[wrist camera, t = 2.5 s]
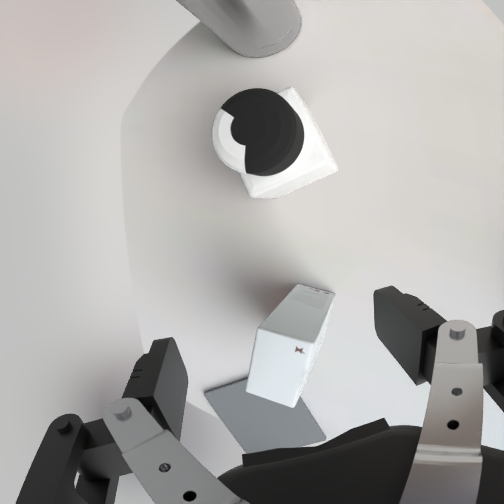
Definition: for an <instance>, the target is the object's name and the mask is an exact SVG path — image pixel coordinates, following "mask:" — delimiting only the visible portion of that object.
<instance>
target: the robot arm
mask: <svg viewBox="0 0 504 504" xmlns="http://www.w3.org/2000/svg"><path fill="white" fill-rule="evenodd" d="M176 1H178V2H179V3H180V4H181V5H183V6H184V7H185V8H186V9H187V10H189V11H190V12H191V13H192V14H193V15H194V16H196V17H197V18H198V19H199V20H200V21H201V22H203V23H204V24H205V25H206V26H207V27H208V28H209V29H211V30H212V31H213V32H214V33H215V34H216V35H217V36H218V37H219V38H220V39H221V40H222V41H224V42H225V43H226V44H227V45H228V46H229V47H230V48H231V49H232V50H234V51H235V52H236V53H238V54H241V55H243V56H247V57H265V56H269V55H272V54H275V53H277V52H279V51H281V50H283V49H285V48H286V47H287V46H289V45H290V44H291V43H292V42H293V41H294V39H295V38H296V37H297V35H298V33H299V32H300V28H301V15H300V12H299V10H298V8H297V6H296V4H295V2H294V0H176ZM374 321H375V330H376V333H377V336H378V338H379V339H380V340H381V342H382V343H383V344H384V345H385V347H386V348H387V349H388V350H389V352H390V353H391V354H392V355H393V356H394V358H395V359H396V360H397V361H398V363H399V364H400V365H401V367H402V368H403V369H404V370H405V372H406V373H407V374H408V375H409V377H410V378H411V379H412V380H413V382H414V383H415V384H416V386H417V385H419V384H422V383H424V382H426V381H428V382H429V384H430V385H431V388H430V394H429V399H428V404H427V409H426V414H425V418H424V423H423V427H418V426H410V425H398V426H389V425H388V423H387V422H386V420H385V418H382V419H379V420H376V421H374V422H371V423H368V424H365V425H362V426H359V427H356V428H353V429H350V430H349V431H347V432H345V433H343V434H341V435H339V436H337V437H335V438H333V439H332V440H330V441H328V442H326V443H324V444H322V445H319V446H315V447H297V448H276V449H271V450H265V451H260V452H254V453H248V454H243V455H242V459H243V465H240V466H237V467H235V468H233V469H231V470H229V471H227V472H225V473H224V474H222V475H221V476H219V477H218V478H216V477H215V476H214V475H213V474H211V473H210V472H209V471H208V470H207V469H206V468H205V467H204V466H203V465H202V464H201V463H200V462H199V461H198V460H197V459H196V458H195V457H194V456H193V455H192V454H191V453H190V452H189V451H188V450H187V449H186V448H185V447H184V446H183V445H182V444H181V443H180V436H181V429H182V422H183V415H184V407H185V401H186V394H187V388H188V375H187V371H186V368H185V366H184V363H183V360H182V358H181V355H180V353H179V350H178V347H177V345H176V342H175V340H174V339H173V338H172V337H170V338H164V339H158V340H154V341H153V343H152V346H151V348H150V351H149V353H147V354H144V355H143V356H142V357H141V358H140V359H139V360H138V361H137V362H136V364H135V366H134V369H133V372H132V374H131V376H130V379H129V381H128V383H127V386H126V388H125V391H124V393H123V396H122V399H119V400H117V401H115V402H113V403H112V404H110V405H109V406H108V407H107V408H106V409H105V411H104V413H103V418H102V419H99V420H95V421H92V422H88V423H83V422H82V420H81V418H80V417H79V416H78V415H75V414H65V415H62V416H60V417H58V418H57V419H55V420H54V421H53V422H52V423H51V424H50V426H49V428H48V430H47V432H46V434H45V436H44V438H43V440H42V442H41V445H40V447H39V449H38V451H37V453H36V456H35V458H34V460H33V462H32V465H31V467H30V469H29V471H28V474H27V476H26V479H25V481H24V484H23V486H22V488H21V491H20V494H19V496H18V499H17V501H16V504H114V502H115V496H116V491H117V485H118V480H119V476H121V475H125V474H129V473H134V474H135V476H136V477H137V479H138V480H139V482H140V483H141V485H142V486H143V488H144V489H145V490H146V492H147V493H148V495H149V496H150V497H151V499H152V500H153V501H154V503H155V504H504V451H503V450H499V449H495V448H491V447H487V446H483V445H481V437H482V422H483V388H484V389H485V391H486V392H487V393H488V394H489V395H490V396H491V398H492V399H493V400H494V401H495V402H496V404H497V405H498V406H499V407H500V408H501V410H502V411H503V412H504V310H502V311H499V312H497V313H496V314H495V315H494V316H493V320H492V326H489V327H485V328H480V329H476V328H475V327H474V326H473V325H472V324H471V323H469V322H467V321H463V320H451V321H446V320H445V319H444V318H443V317H441V316H440V315H439V314H438V313H436V312H435V311H434V310H433V309H431V308H429V306H427V305H426V304H424V302H422V301H421V300H420V299H418V298H417V297H415V296H412V295H409V294H403V293H401V292H400V291H399V290H398V289H396V288H395V287H394V286H388V287H385V288H381V289H378V290H375V291H374ZM77 471H78V473H80V475H79V479H78V482H77V485H76V488H75V486H74V480H75V476H76V473H77Z"/></svg>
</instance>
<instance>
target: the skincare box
mask: <svg viewBox="0 0 504 504" xmlns="http://www.w3.org/2000/svg"><path fill="white" fill-rule="evenodd" d="M334 298H335V293H331V292H327V291H323V290H319V289H316V288H312V287H308V286H304V285H301V284H297V285H296V286H295V287H294V288H293V289H292V291H291V292H290V293H289V294H288V295H287V296H286V297H285V298H284V299H283V300H282V302H281V303H280V304H279V305H278V306H277V307H276V308H275V309H274V310H273V312H272V313H271V314H270V315H269V316H268V317H267V318H266V319H265V320H264V321H263V322H262V324H261V325H260V326H259V327H258V328H257V332H256V337H255V342H254V347H253V352H252V358H251V364H250V369H249V375H248V380H247V385H246V389H245V391H246V392H248V393H251V394H254V395H257V396H260V397H263V398H265V399H268V400H271V401H274V402H277V403H280V404H283V405H285V406H288V407H291V408H294V407H295V405H296V403H297V401H298V399H299V397H300V394H301V392H302V390H303V388H304V386H305V383H306V381H307V379H308V376H309V374H310V371H311V369H312V367H313V364H314V362H315V359H316V357H317V354H318V352H319V349H320V347H321V344H322V342H323V338H324V335H325V332H326V328H327V325H328V321H329V318H330V314H331V310H332V306H333V302H334Z"/></svg>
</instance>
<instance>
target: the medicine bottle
mask: <svg viewBox="0 0 504 504" xmlns="http://www.w3.org/2000/svg"><path fill="white" fill-rule="evenodd" d="M212 141H213V145H214V148H215V151H216V153H217V155H218V156H219V158H220V159H221V160H222V161H223V162H224V163H225V164H226V165H227V166H228V167H230V168H231V169H233V170H235V171H238V172H239V173H240V175H241V177H242V180H243V182H244V185H245V187H246V189H247V192H248V194H249V196H250V197H251V198H272V199H276V198H279V197H281V196H283V195H286V194H288V193H290V192H292V191H294V190H297V189H299V188H301V187H303V186H306V185H308V184H310V183H312V182H315V181H317V180H319V179H322V178H324V177H326V176H328V175H331V174H333V173H335V172H337V170H338V167H337V165H336V163H335V161H334V158H333V156H332V154H331V152H330V150H329V148H328V146H327V144H326V142H325V140H324V138H323V136H322V133H321V131H320V129H319V127H318V125H317V124H316V122H315V120H314V118H313V116H312V114H311V112H310V110H309V109H308V107H307V106H306V104H305V103H304V101H303V100H302V98H301V97H300V96H299V94H298V93H297V91H296V90H295V89H294V88H293V87H288V88H286V89H284V90H282V91H280V92H278V93H275V92H273V91H270V90H267V89H261V88H254V89H248V90H244V91H241V92H239V93H237V94H235V95H234V96H232V97H231V98H229V99H228V100H227V101H226V102H225V103H224V104H223V105H222V107H221V108H220V109H219V111H218V113H217V115H216V117H215V120H214V123H213V128H212Z"/></svg>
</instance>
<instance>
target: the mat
mask: <svg viewBox="0 0 504 504" xmlns="http://www.w3.org/2000/svg"><path fill="white" fill-rule="evenodd" d="M247 380H248V378H245V379H243V380H240V381H237V382H234V383H231V384H228V385H225V386H222V387H219V388H216V389H213V390H210V391H207V392H205V393H204V396H205V397H206V399H207V400H208V402H209V403H210V404H211V406H212V407H213V409H214V410H215V412H216V413H217V414H218V416H219V417H220V419H221V420H222V421H223V423H224V424H225V426H226V427H227V428H228V430H229V431H230V432H231V434H232V435H233V436H234V438H235V439H236V440H237V442H238V443H239V444H240V446H241V447H242V448H243V450H244V451H245V452H246V453H247V454H248V453H254V452H260V451H265V450H271V449H276V448H297V447H302V446H306V445H310V444H313V443H317V442H321V441H325V440H326V436H325V435H324V433H323V431H322V430H321V428H320V427H319V425H318V424H317V422H316V421H315V419H314V417H313V416H312V414H311V413H310V411H309V410H308V408H307V406H306V405H305V403H304V402H303V400H302V398H301V397H299V399H298V401H297V403H296V405H295V407H294V408H291V407H288V406H285V405H283V404H280V403H277V402H274V401H271V400H268V399H265V398H263V397H260V396H257V395H254V394H251V393H248V392H246V391H245V389H246V385H247Z"/></svg>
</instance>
